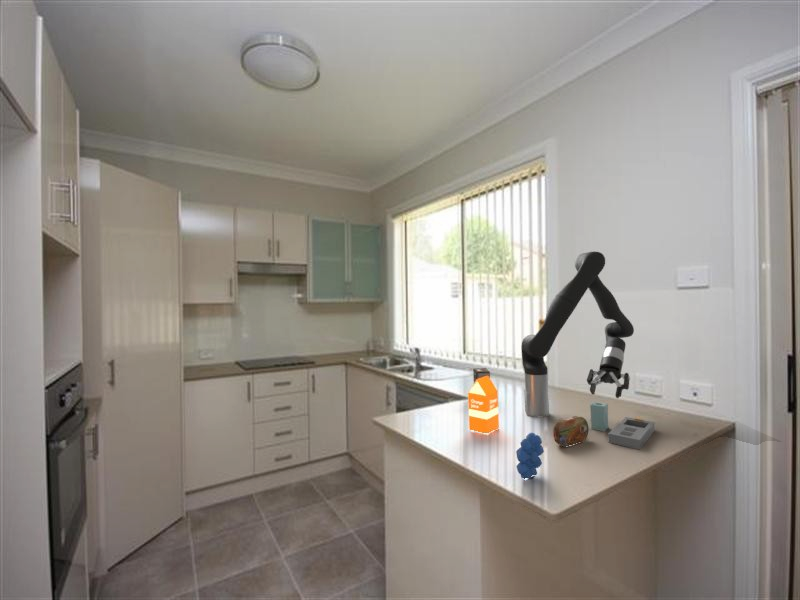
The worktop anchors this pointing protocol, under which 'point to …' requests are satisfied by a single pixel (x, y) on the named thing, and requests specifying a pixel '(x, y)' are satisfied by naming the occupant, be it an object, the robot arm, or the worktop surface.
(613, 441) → the power strip
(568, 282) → the robot arm
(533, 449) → the grapes
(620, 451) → the worktop surface
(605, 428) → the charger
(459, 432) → the worktop surface
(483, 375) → the coffee box
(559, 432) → the tin
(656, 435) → the worktop surface
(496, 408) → the orange juice
